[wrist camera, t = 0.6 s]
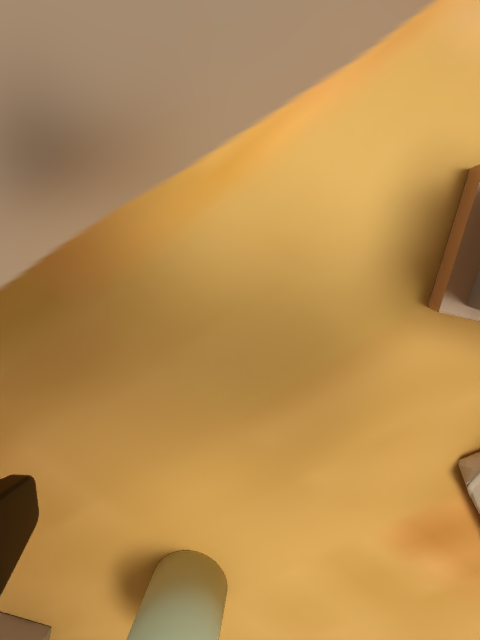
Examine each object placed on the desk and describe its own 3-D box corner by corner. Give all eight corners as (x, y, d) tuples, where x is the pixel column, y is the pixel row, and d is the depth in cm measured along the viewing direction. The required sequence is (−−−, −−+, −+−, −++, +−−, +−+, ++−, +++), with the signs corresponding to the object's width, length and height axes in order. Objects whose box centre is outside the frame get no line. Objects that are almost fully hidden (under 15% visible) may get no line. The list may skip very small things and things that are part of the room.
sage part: (218, 626, 24) (201, 725, 19) (146, 605, 24) (110, 698, 19) (234, 562, 23) (220, 648, 18) (160, 541, 23) (126, 621, 18)
